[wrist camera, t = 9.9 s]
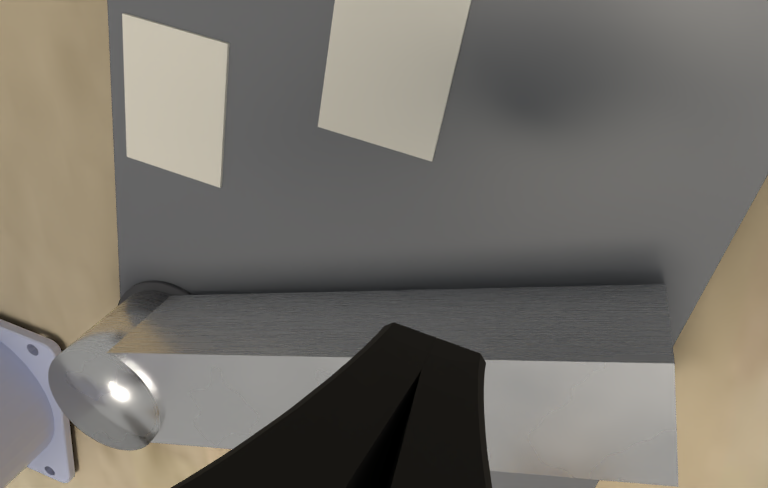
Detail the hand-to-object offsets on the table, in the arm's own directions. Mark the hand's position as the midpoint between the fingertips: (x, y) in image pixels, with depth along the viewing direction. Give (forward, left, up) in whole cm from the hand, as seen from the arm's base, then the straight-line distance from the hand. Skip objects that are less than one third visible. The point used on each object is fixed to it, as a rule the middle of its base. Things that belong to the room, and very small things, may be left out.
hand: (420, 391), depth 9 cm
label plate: (-3, -2, -8) cm, 9 cm away
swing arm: (-3, -6, -7) cm, 10 cm away
